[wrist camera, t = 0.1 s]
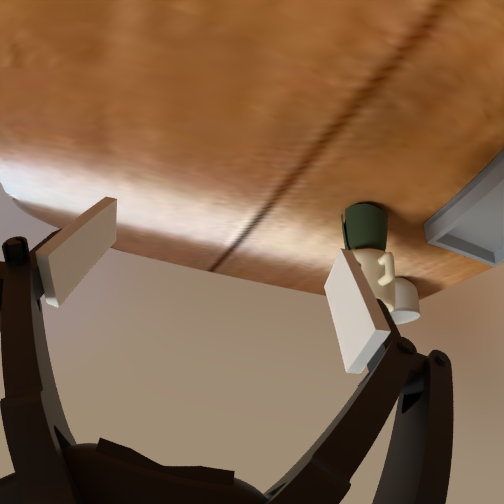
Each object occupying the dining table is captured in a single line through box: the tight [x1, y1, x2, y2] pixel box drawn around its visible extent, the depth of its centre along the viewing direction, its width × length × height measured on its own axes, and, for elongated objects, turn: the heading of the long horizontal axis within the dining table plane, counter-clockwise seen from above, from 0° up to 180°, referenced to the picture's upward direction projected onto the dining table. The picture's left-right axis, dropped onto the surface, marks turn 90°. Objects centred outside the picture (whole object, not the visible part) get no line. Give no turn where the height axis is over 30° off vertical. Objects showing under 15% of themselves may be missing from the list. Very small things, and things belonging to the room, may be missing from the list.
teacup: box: [390, 278, 420, 324], centre depth 53 cm, size 14×11×8 cm
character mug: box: [341, 203, 396, 313], centre depth 33 cm, size 11×7×13 cm, turn 170°
